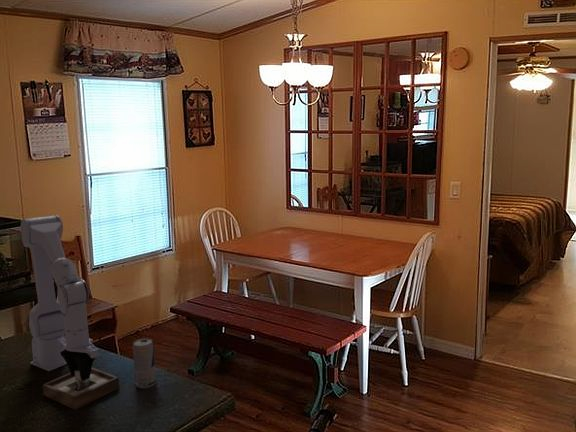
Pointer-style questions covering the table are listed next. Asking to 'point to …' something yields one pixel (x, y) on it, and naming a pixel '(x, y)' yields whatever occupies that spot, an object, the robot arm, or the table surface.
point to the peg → (79, 383)
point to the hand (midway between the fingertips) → (80, 377)
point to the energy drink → (144, 363)
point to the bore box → (68, 396)
